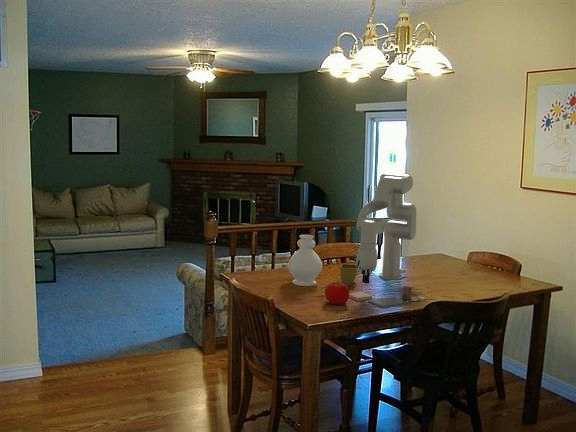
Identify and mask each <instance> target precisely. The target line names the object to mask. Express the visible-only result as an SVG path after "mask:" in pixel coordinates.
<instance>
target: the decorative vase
mask: <svg viewBox="0 0 576 432" xmlns="http://www.w3.org/2000/svg"><path fill="white" fill-rule="evenodd" d="M299 238H300V239H298V240H297V244H296V245H297V246H298V247H299V248H298V250H296V252H294V253H293V254H292V256H290V258H289V260H288V264H287V268H288V271H289V272H290V274H291V276H293V278H294V279H293V280H291V281H292V282H291V283H292V284H293V285H295V286H303V287H313V286H316V285H317V281H316V280H315V279H316V278H317V277H318V276H319V275H320V274H321V272H322V270H323V262H322V260H321V258H320V257H319V255H318V254H317V253H316V251H314V249H313V248H314V247H315V246H316V241H315V240H314V238H315V236H314V235H312V234H300V235H299Z"/></svg>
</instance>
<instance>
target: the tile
mask: <svg viewBox="0 0 576 432" xmlns="http://www.w3.org/2000/svg"><path fill="white" fill-rule="evenodd" d="M349 299H352V300H355V301H357V302H361V301H367V300H373V295H371V294H369V293H367V292H364V291H356V292H349Z"/></svg>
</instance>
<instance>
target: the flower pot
mask: <svg viewBox="0 0 576 432" xmlns="http://www.w3.org/2000/svg"><path fill="white" fill-rule="evenodd" d="M357 269H358V268H356V264H349V263H341V265H340V267H339V273H340V280H341V283H343V282H344V284H349V285H350V284H351V285H352V284H354V282H355V280H356V278H357V275H358V271H357Z"/></svg>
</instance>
